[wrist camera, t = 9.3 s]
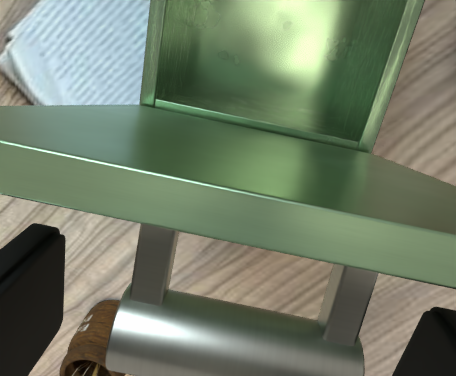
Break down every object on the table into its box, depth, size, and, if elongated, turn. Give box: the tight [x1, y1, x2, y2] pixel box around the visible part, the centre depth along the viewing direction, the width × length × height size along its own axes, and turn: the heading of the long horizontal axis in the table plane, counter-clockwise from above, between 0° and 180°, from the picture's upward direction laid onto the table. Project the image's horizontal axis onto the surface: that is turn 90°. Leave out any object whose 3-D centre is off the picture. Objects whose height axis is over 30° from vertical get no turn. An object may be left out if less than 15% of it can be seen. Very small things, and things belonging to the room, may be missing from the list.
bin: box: [139, 0, 425, 154], centre depth 22 cm, size 14×13×10 cm
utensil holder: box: [60, 300, 125, 376], centre depth 32 cm, size 6×6×12 cm
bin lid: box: [0, 105, 456, 376], centre depth 13 cm, size 14×13×5 cm
